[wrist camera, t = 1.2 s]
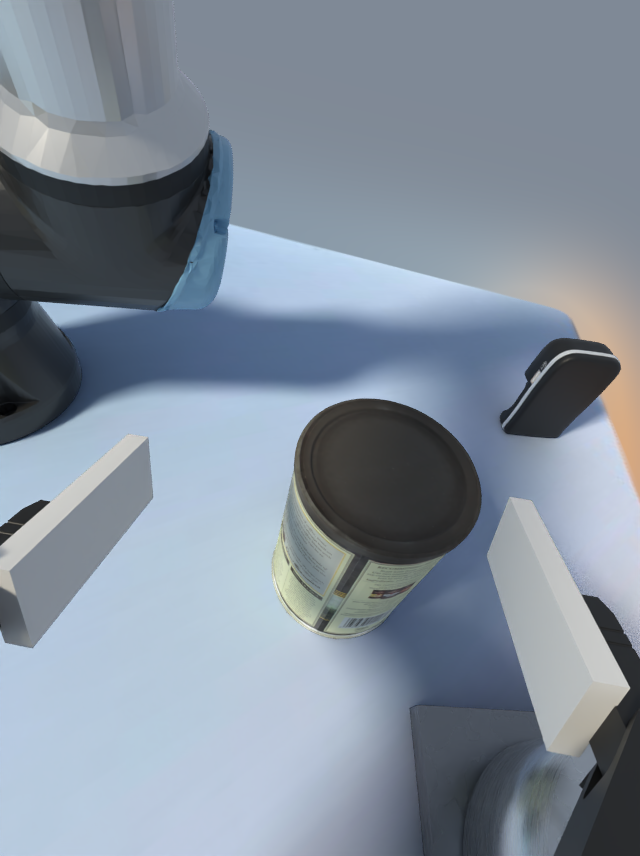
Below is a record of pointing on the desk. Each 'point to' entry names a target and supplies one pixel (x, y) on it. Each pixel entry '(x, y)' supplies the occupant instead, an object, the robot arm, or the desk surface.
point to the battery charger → (560, 387)
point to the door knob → (491, 782)
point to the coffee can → (369, 514)
